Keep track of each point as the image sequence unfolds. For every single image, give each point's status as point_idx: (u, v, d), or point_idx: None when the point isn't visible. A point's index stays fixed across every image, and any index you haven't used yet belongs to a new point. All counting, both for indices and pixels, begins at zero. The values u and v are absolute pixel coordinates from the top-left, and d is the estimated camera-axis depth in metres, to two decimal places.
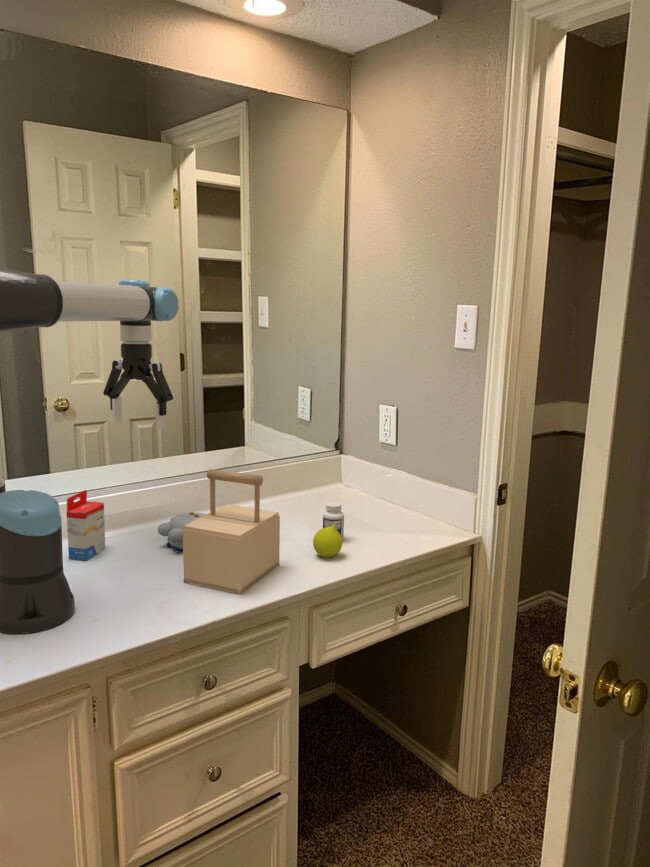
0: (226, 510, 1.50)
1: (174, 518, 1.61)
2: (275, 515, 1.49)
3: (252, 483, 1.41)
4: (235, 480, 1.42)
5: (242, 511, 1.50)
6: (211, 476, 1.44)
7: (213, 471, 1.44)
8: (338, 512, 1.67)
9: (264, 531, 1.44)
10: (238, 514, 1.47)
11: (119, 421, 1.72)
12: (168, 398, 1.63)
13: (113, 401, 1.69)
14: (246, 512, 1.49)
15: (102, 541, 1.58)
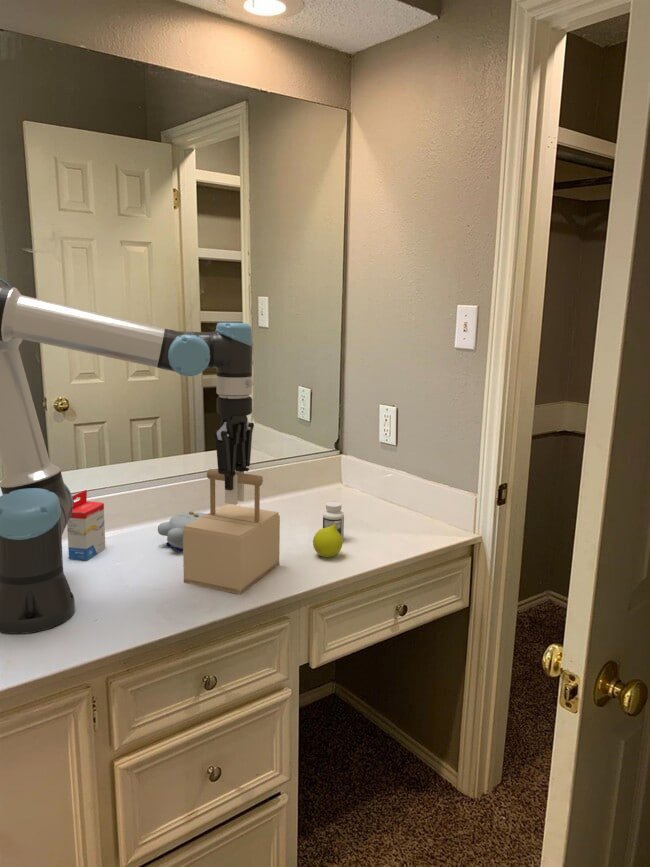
0: (226, 510, 1.50)
1: (174, 518, 1.61)
2: (275, 515, 1.49)
3: (252, 483, 1.41)
4: None
5: (242, 511, 1.50)
6: (211, 476, 1.44)
7: (213, 471, 1.44)
8: (338, 512, 1.67)
9: (264, 531, 1.44)
10: (238, 514, 1.47)
11: (238, 498, 1.45)
12: (220, 472, 1.39)
13: None
14: (246, 512, 1.49)
15: (102, 541, 1.58)
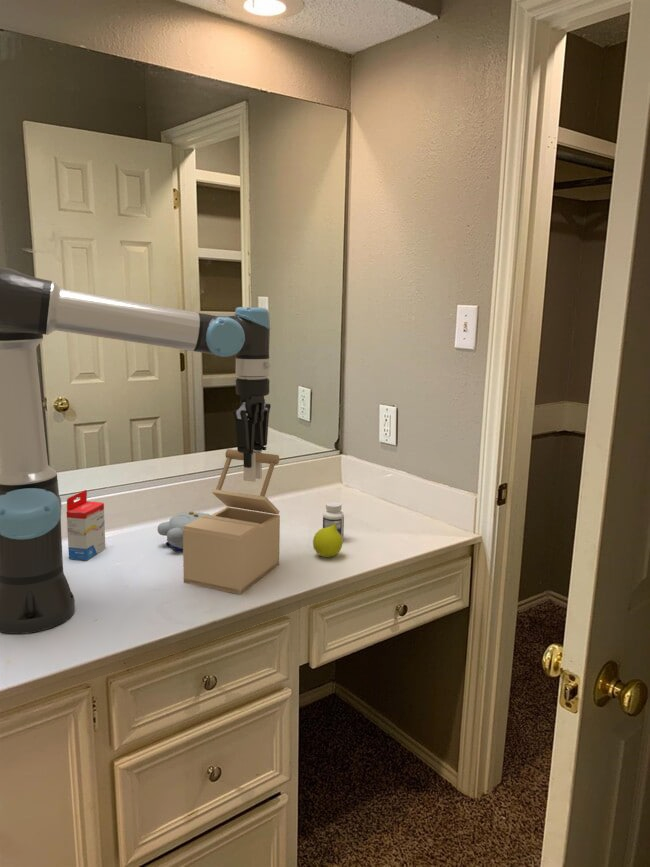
0: None
1: (173, 518, 1.62)
2: (276, 510, 1.49)
3: (269, 459, 1.47)
4: None
5: None
6: (230, 453, 1.51)
7: None
8: (338, 512, 1.67)
9: (264, 531, 1.44)
10: None
11: (256, 476, 1.52)
12: (239, 450, 1.45)
13: None
14: None
15: (102, 541, 1.58)
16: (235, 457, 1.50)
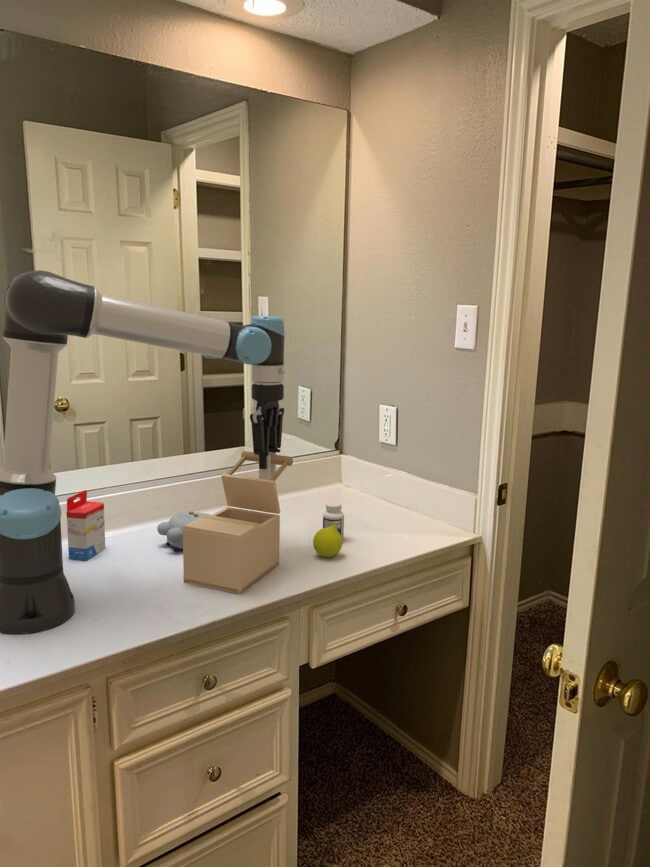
0: None
1: (173, 517, 1.62)
2: (278, 507, 1.50)
3: (283, 458, 1.54)
4: None
5: None
6: (246, 452, 1.58)
7: None
8: (338, 512, 1.67)
9: (264, 531, 1.44)
10: None
11: (270, 477, 1.59)
12: (255, 452, 1.52)
13: None
14: None
15: (102, 541, 1.58)
16: (250, 456, 1.57)
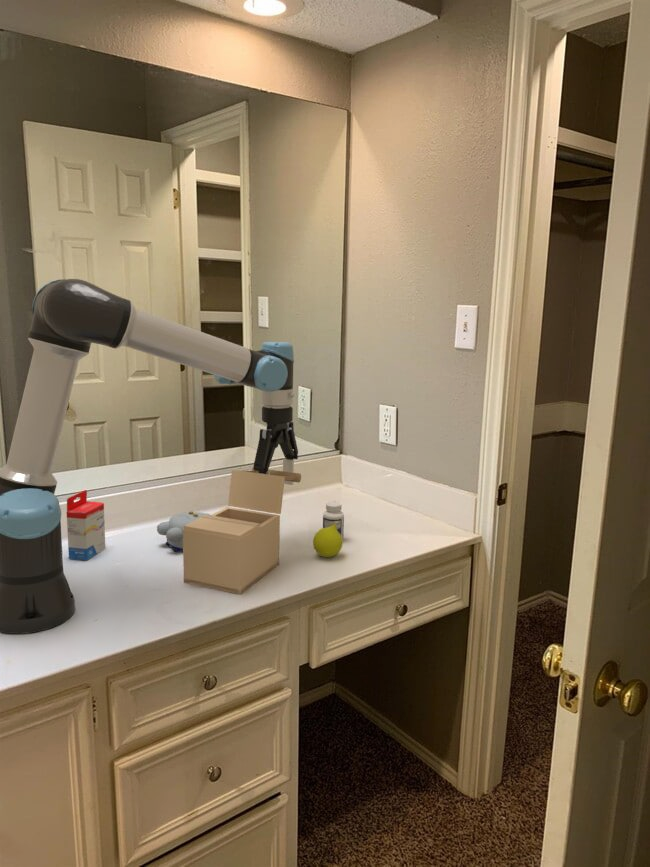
0: None
1: (173, 517, 1.62)
2: (280, 507, 1.51)
3: (293, 473, 1.60)
4: (278, 471, 1.62)
5: None
6: None
7: None
8: (338, 512, 1.67)
9: (264, 531, 1.44)
10: None
11: (288, 482, 1.69)
12: (255, 468, 1.53)
13: None
14: None
15: (102, 541, 1.58)
16: None
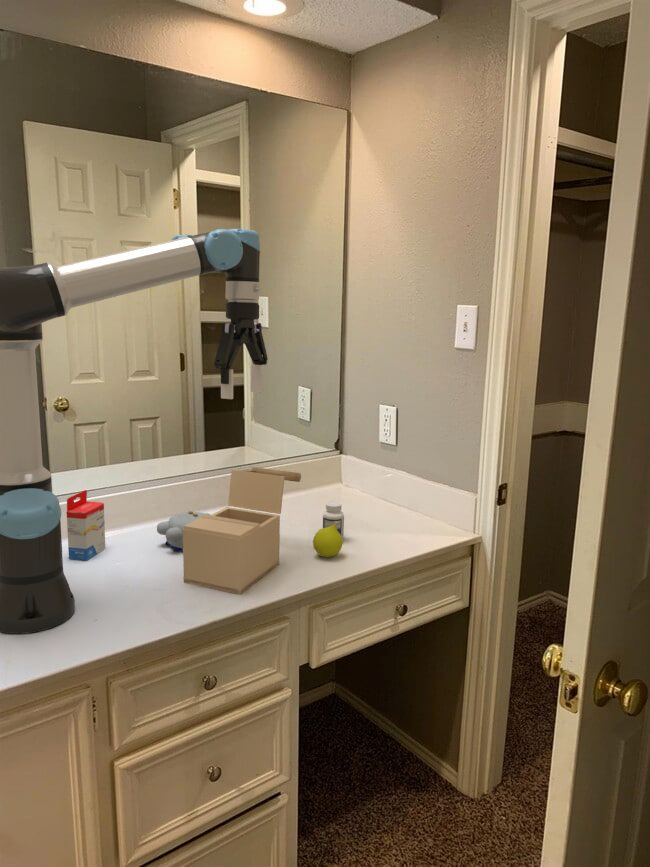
0: None
1: (173, 517, 1.62)
2: (280, 507, 1.51)
3: (293, 473, 1.60)
4: (278, 470, 1.62)
5: None
6: None
7: None
8: (338, 512, 1.67)
9: (264, 531, 1.44)
10: None
11: (256, 390, 1.57)
12: (216, 363, 1.41)
13: None
14: None
15: (102, 541, 1.58)
16: (260, 470, 1.63)
